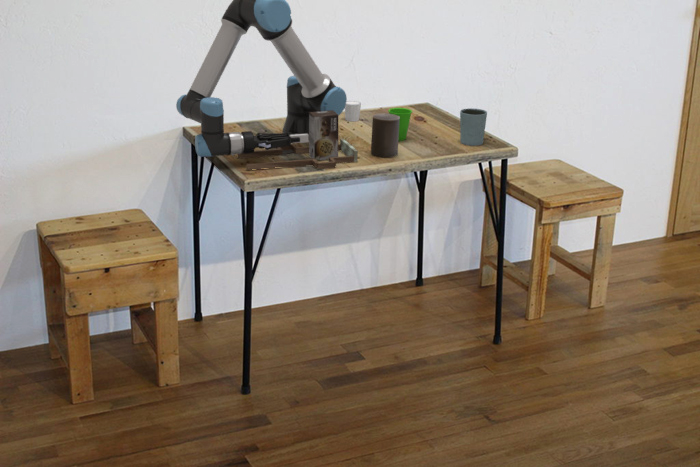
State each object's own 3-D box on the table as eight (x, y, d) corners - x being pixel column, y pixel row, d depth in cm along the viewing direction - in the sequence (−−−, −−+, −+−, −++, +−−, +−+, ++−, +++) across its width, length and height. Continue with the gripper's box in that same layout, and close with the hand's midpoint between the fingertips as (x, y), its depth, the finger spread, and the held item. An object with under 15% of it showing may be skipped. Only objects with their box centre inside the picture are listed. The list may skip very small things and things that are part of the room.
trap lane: (234, 153, 323) (234, 142, 322) (339, 145, 336) (339, 135, 334) (250, 175, 302) (250, 163, 301) (361, 165, 314) (362, 154, 313)
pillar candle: (375, 158, 322) (377, 117, 317) (367, 150, 331) (369, 110, 325) (401, 157, 325) (404, 116, 319) (392, 149, 334) (395, 109, 328)
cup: (409, 143, 341) (410, 114, 337) (385, 141, 342) (386, 112, 338) (412, 136, 349) (413, 108, 345) (389, 134, 351) (390, 106, 347)
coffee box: (332, 153, 326) (333, 109, 320) (338, 159, 321) (339, 114, 315) (308, 155, 323) (308, 111, 317) (313, 161, 318) (314, 116, 312)
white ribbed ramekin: (363, 119, 371) (364, 102, 369) (354, 122, 366) (355, 105, 363) (349, 116, 375) (349, 99, 372) (340, 120, 369) (340, 103, 367)
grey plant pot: (469, 147, 337) (472, 116, 333) (452, 140, 345) (454, 109, 341) (490, 143, 343) (493, 112, 338) (472, 137, 350) (475, 106, 346)
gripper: (237, 148, 317) (302, 143, 324) (246, 159, 305) (313, 153, 313) (236, 127, 314) (302, 122, 321) (245, 137, 303) (313, 132, 310)
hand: (307, 137), depth 317 cm, fingers closed
